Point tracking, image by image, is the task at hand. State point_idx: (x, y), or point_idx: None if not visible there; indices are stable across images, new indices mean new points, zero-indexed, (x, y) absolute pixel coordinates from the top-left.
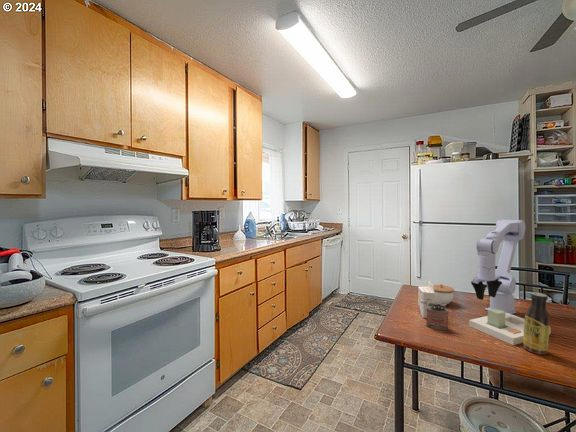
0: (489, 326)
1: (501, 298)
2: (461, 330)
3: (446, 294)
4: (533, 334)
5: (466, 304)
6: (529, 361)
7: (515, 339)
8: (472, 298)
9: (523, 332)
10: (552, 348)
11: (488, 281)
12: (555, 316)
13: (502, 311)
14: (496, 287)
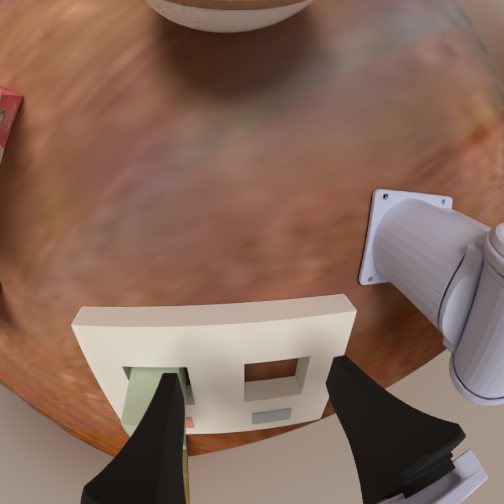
0: (115, 384)
1: (425, 312)
2: (34, 317)
3: (174, 7)
4: None
5: (359, 83)
6: (109, 437)
7: None
8: (453, 70)
9: (197, 427)
10: (219, 437)
11: (402, 464)
12: None
13: None
14: (356, 461)
